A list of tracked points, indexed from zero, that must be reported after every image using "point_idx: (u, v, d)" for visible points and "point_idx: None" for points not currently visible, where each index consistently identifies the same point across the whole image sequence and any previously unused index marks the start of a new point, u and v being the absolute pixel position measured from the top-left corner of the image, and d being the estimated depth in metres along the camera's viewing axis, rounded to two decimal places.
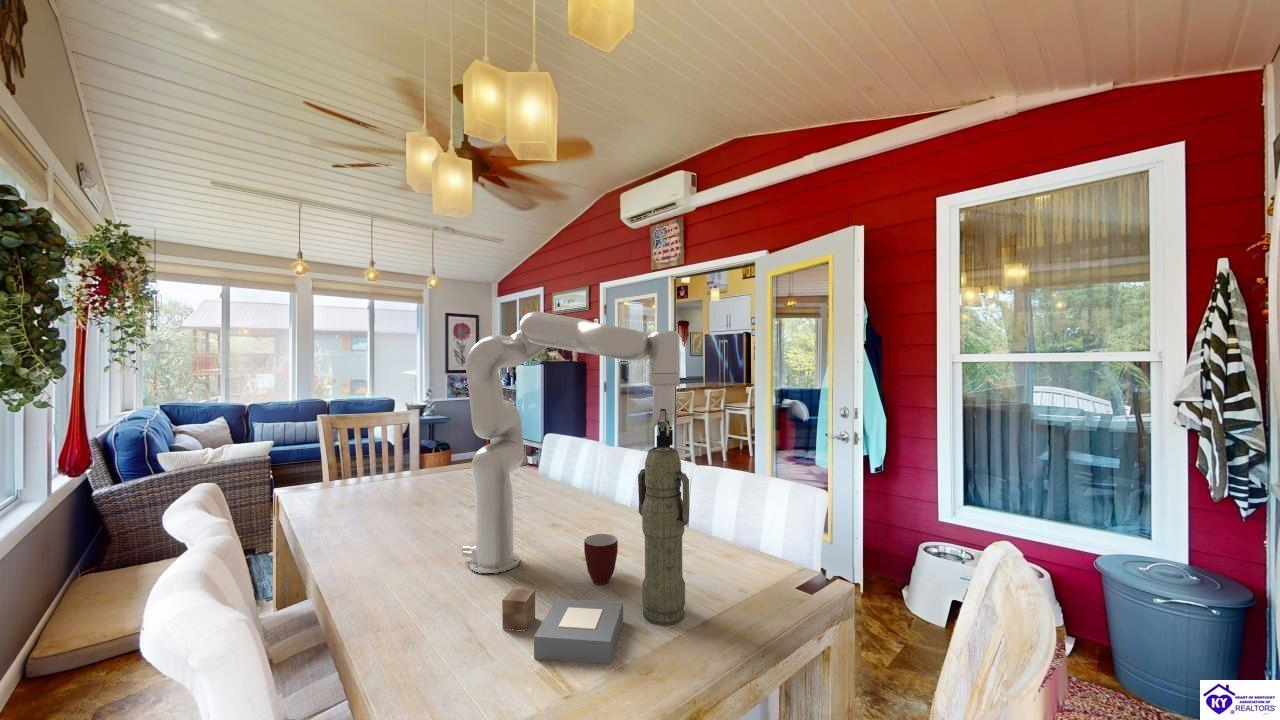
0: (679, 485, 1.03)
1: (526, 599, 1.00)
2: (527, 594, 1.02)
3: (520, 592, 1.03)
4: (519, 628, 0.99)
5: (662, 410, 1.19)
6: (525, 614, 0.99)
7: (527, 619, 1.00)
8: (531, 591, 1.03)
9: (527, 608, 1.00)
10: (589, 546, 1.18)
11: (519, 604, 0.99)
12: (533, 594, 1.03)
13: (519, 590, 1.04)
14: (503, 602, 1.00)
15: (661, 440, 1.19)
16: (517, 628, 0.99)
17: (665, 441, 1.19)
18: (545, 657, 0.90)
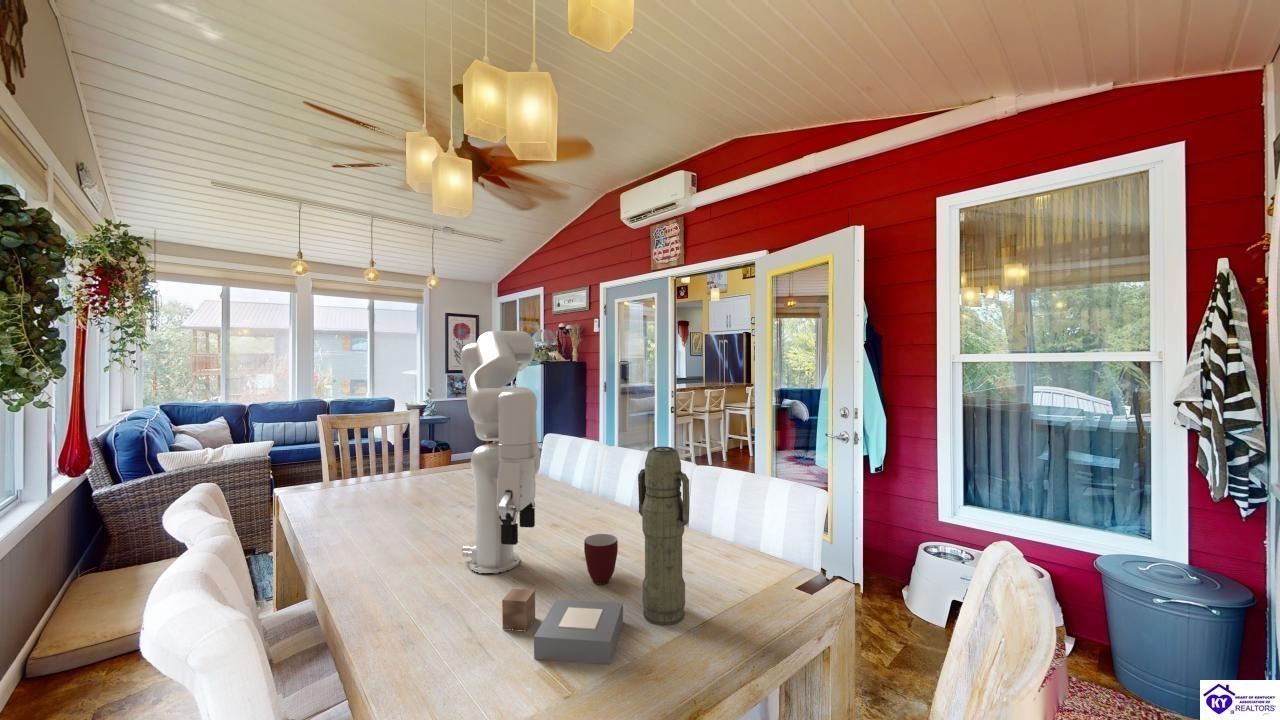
0: (679, 485, 1.03)
1: (526, 599, 1.00)
2: (527, 594, 1.02)
3: (520, 592, 1.03)
4: (519, 628, 0.99)
5: (507, 492, 0.96)
6: (525, 614, 0.99)
7: (527, 619, 1.00)
8: (531, 591, 1.03)
9: (527, 608, 1.00)
10: (589, 546, 1.18)
11: (519, 604, 0.99)
12: (533, 594, 1.03)
13: (519, 590, 1.04)
14: (503, 602, 1.00)
15: (505, 529, 0.96)
16: (517, 628, 0.99)
17: (510, 531, 0.96)
18: (545, 657, 0.90)
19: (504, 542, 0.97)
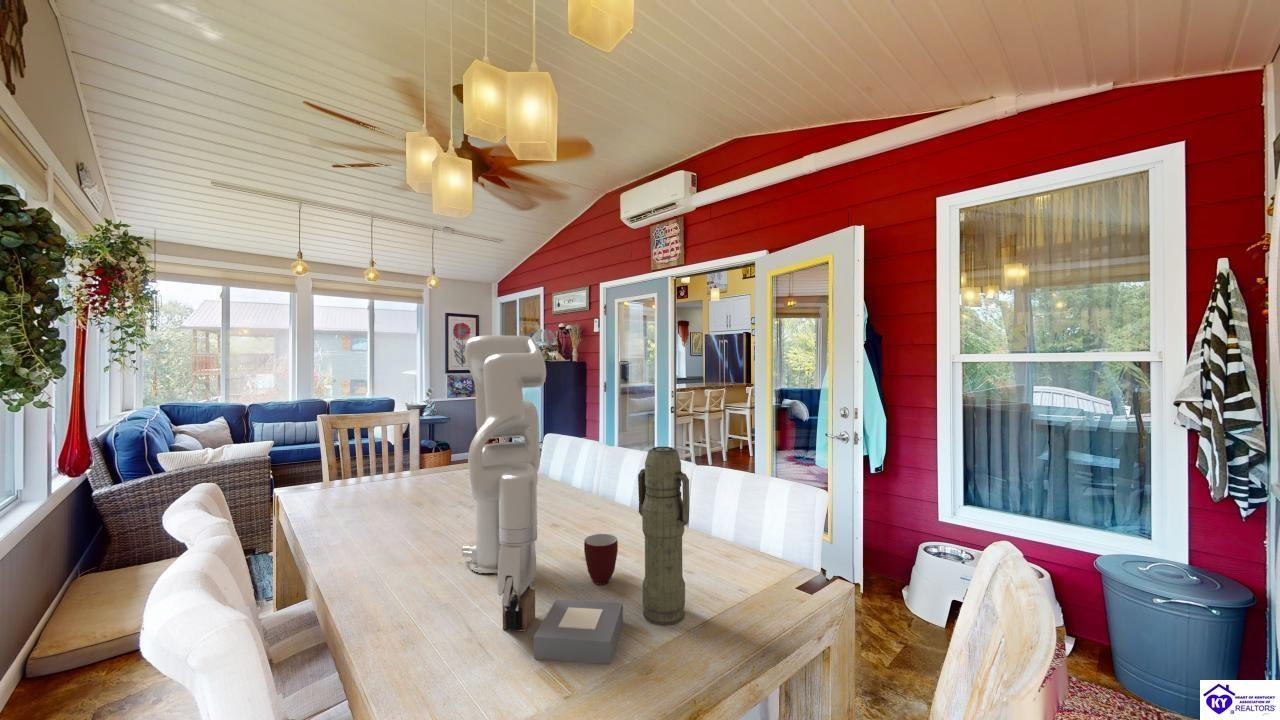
0: (679, 485, 1.03)
1: (526, 599, 1.00)
2: (527, 594, 1.02)
3: None
4: None
5: (508, 580, 0.97)
6: (525, 614, 0.99)
7: (527, 619, 1.00)
8: (531, 591, 1.03)
9: (527, 607, 1.00)
10: (589, 546, 1.18)
11: None
12: (533, 594, 1.03)
13: None
14: None
15: (510, 615, 0.98)
16: None
17: (514, 617, 0.98)
18: (545, 657, 0.90)
19: (509, 627, 0.99)
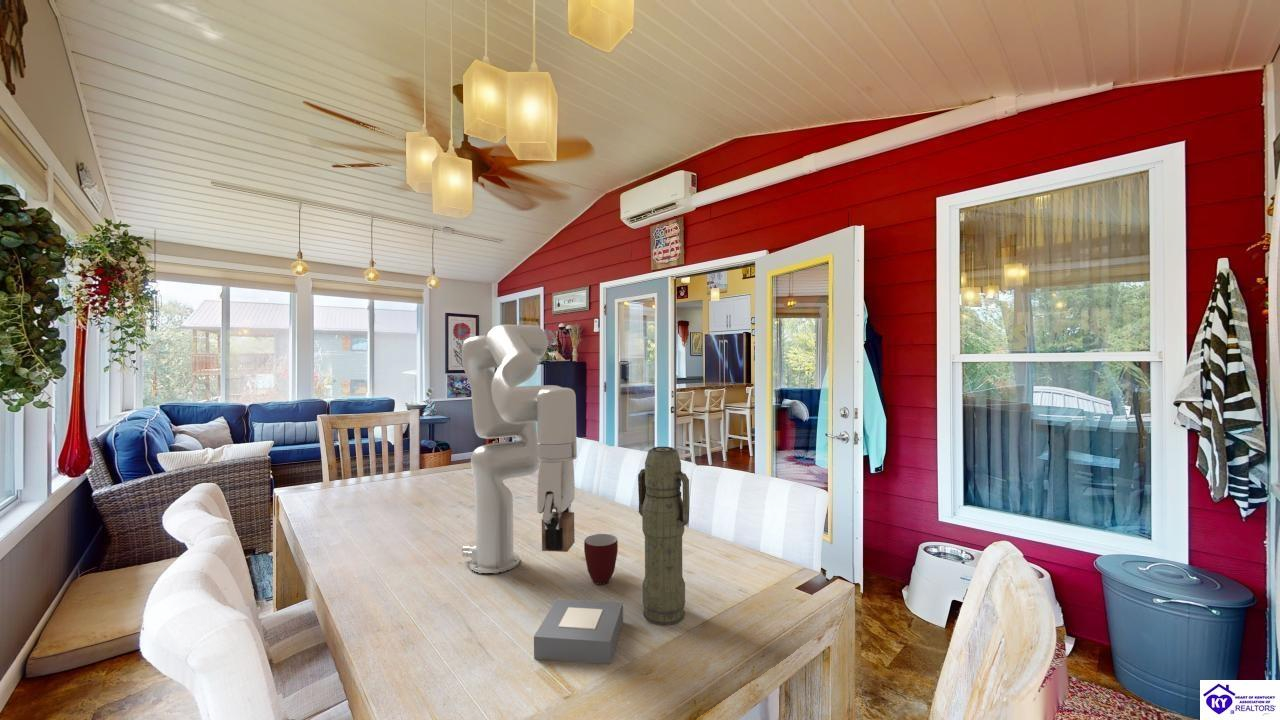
0: (679, 485, 1.03)
1: (566, 519, 0.95)
2: (567, 515, 0.98)
3: None
4: None
5: (549, 496, 0.93)
6: (565, 534, 0.95)
7: (568, 539, 0.95)
8: (570, 513, 0.99)
9: (568, 527, 0.95)
10: (589, 546, 1.18)
11: None
12: (572, 516, 0.99)
13: None
14: (542, 522, 0.95)
15: (550, 534, 0.94)
16: None
17: (555, 536, 0.94)
18: (545, 657, 0.90)
19: (549, 547, 0.95)
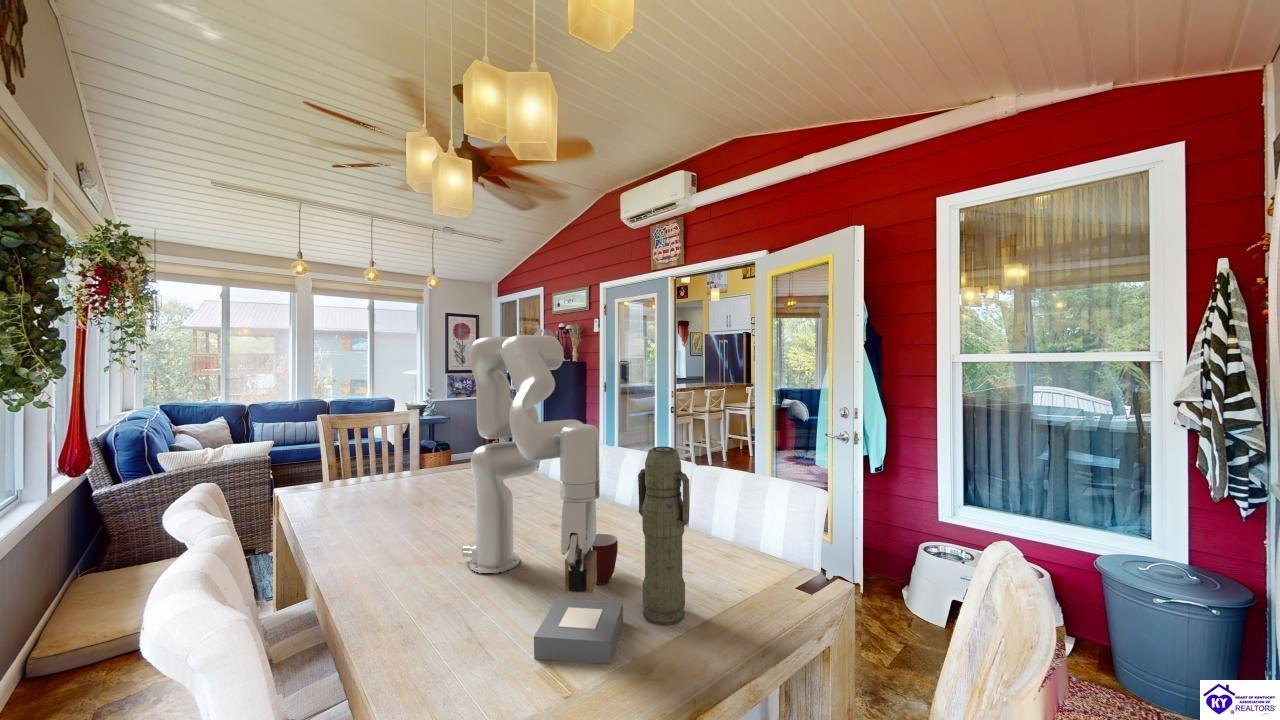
0: (679, 485, 1.03)
1: (590, 559, 0.94)
2: (590, 555, 0.96)
3: None
4: None
5: (573, 538, 0.91)
6: (589, 575, 0.93)
7: (591, 580, 0.94)
8: (593, 552, 0.97)
9: (591, 568, 0.94)
10: None
11: None
12: (595, 555, 0.97)
13: (580, 551, 0.98)
14: (566, 562, 0.94)
15: (574, 576, 0.92)
16: None
17: (579, 577, 0.92)
18: (545, 657, 0.90)
19: (572, 589, 0.93)
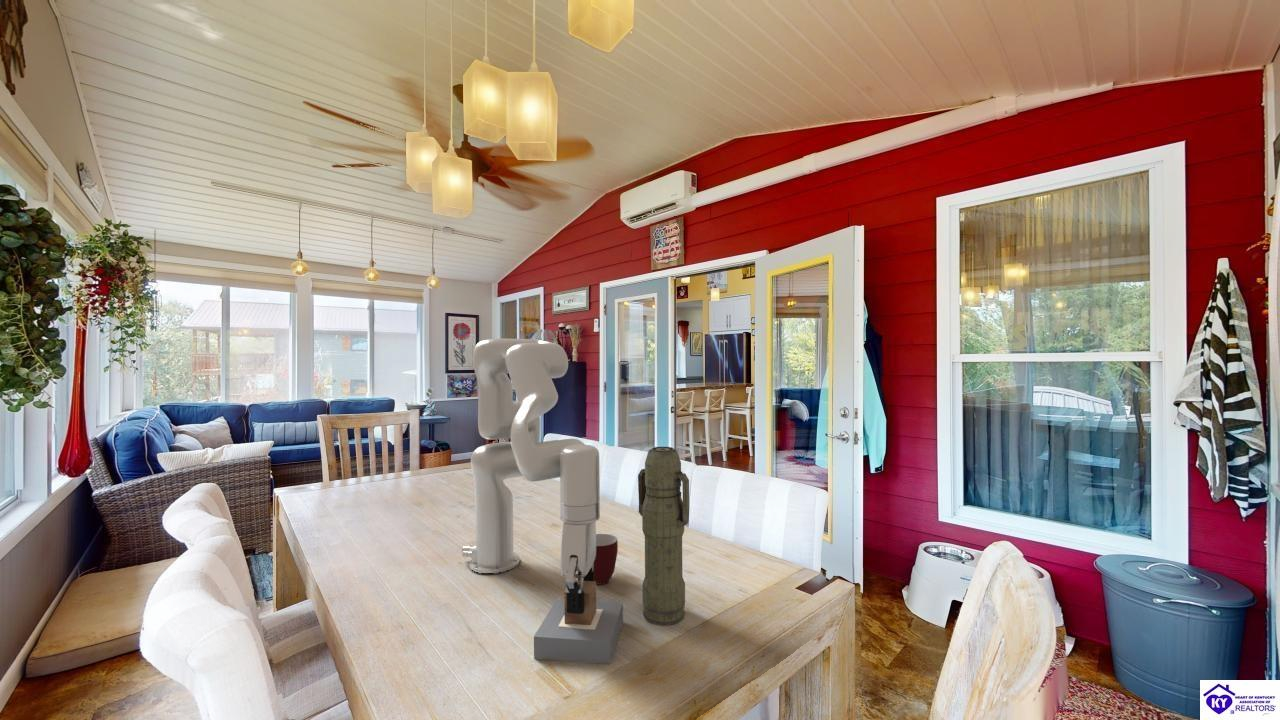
0: (679, 485, 1.03)
1: (589, 591, 0.94)
2: (589, 586, 0.96)
3: None
4: (582, 622, 0.93)
5: (572, 558, 0.91)
6: (589, 607, 0.93)
7: (591, 612, 0.94)
8: (593, 583, 0.97)
9: (591, 600, 0.94)
10: None
11: None
12: (594, 586, 0.97)
13: None
14: (565, 594, 0.94)
15: (572, 598, 0.91)
16: (580, 622, 0.93)
17: (577, 600, 0.91)
18: (545, 657, 0.90)
19: (570, 611, 0.92)
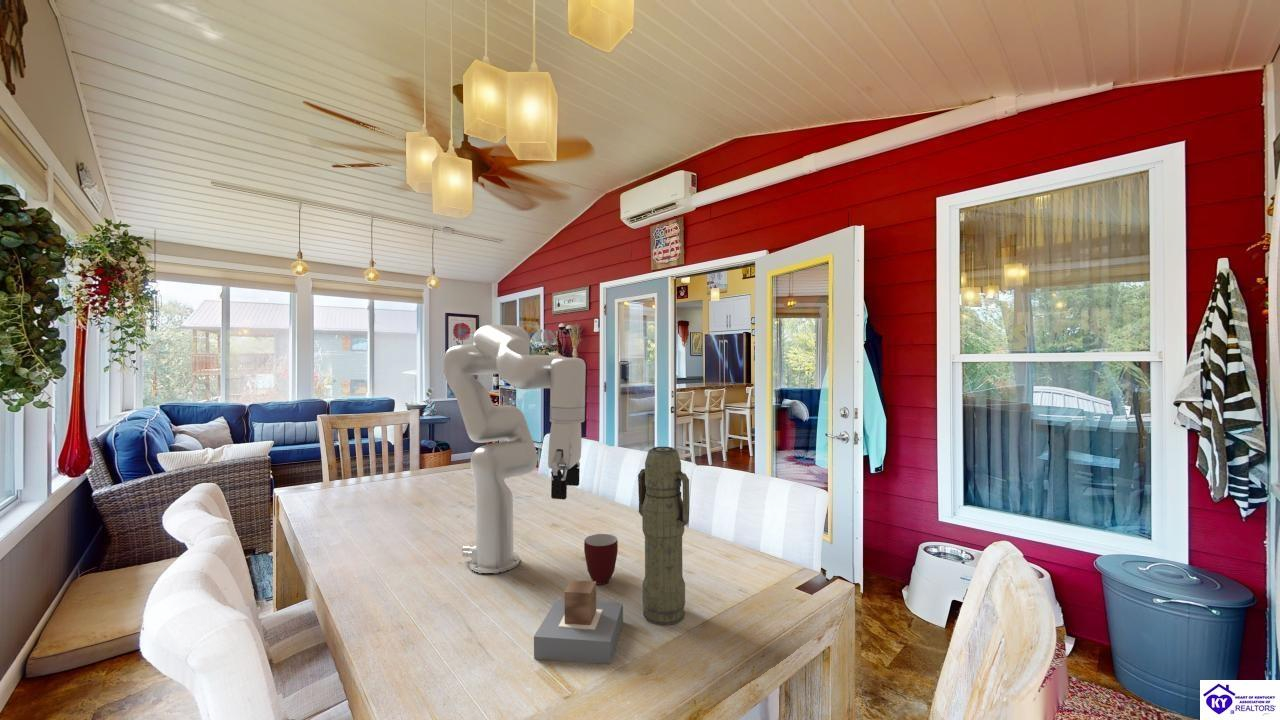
0: (679, 485, 1.03)
1: (589, 591, 0.94)
2: (589, 586, 0.96)
3: (581, 584, 0.97)
4: (582, 622, 0.93)
5: (558, 450, 1.04)
6: (589, 607, 0.93)
7: (591, 612, 0.94)
8: (593, 583, 0.97)
9: (591, 600, 0.94)
10: (589, 546, 1.18)
11: (583, 596, 0.93)
12: (594, 586, 0.97)
13: (580, 582, 0.98)
14: (565, 594, 0.94)
15: (556, 485, 1.04)
16: (580, 622, 0.93)
17: (560, 486, 1.03)
18: (545, 657, 0.90)
19: (554, 497, 1.04)
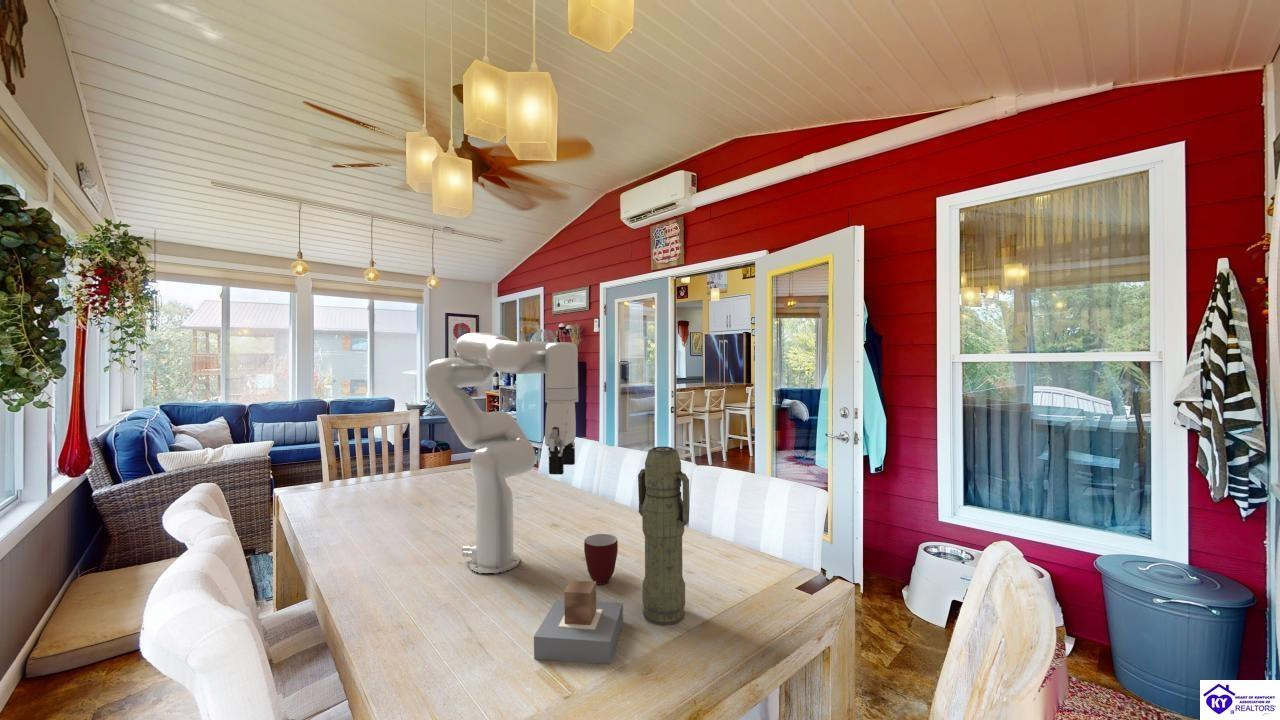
0: (679, 485, 1.03)
1: (589, 591, 0.94)
2: (589, 586, 0.96)
3: (581, 584, 0.97)
4: (582, 622, 0.93)
5: (554, 428, 1.11)
6: (589, 607, 0.93)
7: (591, 612, 0.94)
8: (593, 583, 0.97)
9: (591, 600, 0.94)
10: (589, 546, 1.18)
11: (583, 596, 0.93)
12: (594, 586, 0.97)
13: (580, 582, 0.98)
14: (565, 594, 0.94)
15: (553, 461, 1.10)
16: (580, 622, 0.93)
17: (557, 462, 1.10)
18: (545, 657, 0.90)
19: (551, 472, 1.11)
